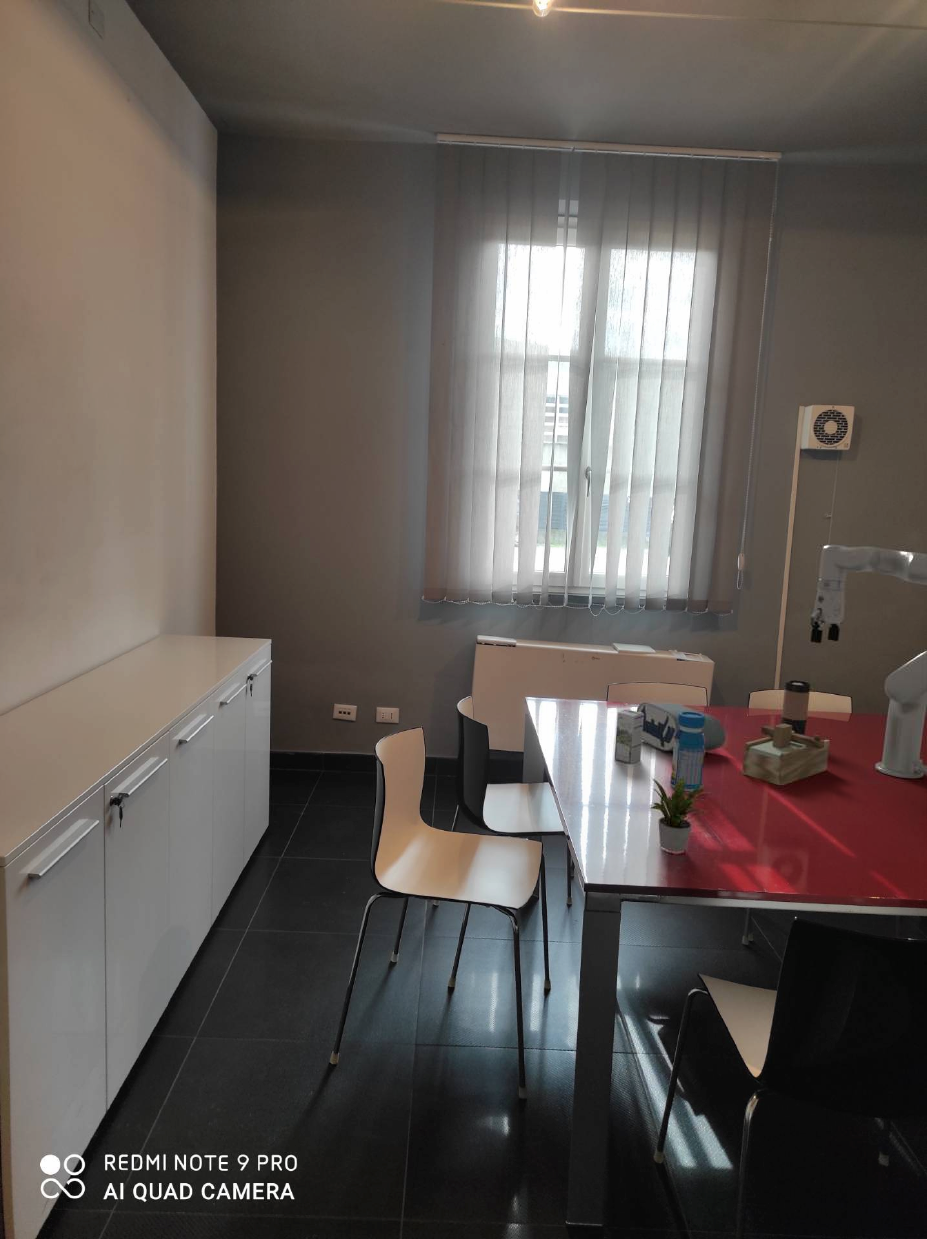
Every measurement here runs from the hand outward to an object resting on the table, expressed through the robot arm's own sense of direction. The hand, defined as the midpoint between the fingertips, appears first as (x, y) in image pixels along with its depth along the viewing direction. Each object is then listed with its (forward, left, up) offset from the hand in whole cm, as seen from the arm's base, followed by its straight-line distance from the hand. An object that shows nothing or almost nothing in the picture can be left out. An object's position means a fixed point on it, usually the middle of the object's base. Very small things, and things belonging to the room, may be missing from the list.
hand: (824, 641), depth 262 cm
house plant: (-23, +100, -36) cm, 109 cm away
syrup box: (+26, +57, -36) cm, 73 cm away
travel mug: (+9, -5, -36) cm, 37 cm away
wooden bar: (-6, +24, -26) cm, 36 cm away
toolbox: (-6, +26, -35) cm, 44 cm away
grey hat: (+27, +31, -36) cm, 55 cm away
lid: (-6, +29, -28) cm, 41 cm away
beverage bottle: (+2, +62, -36) cm, 72 cm away
